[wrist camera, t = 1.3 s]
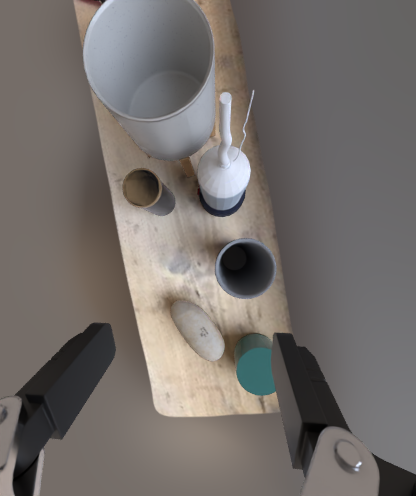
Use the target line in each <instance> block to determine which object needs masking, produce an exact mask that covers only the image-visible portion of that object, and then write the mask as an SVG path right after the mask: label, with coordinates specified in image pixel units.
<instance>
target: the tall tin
mask: <svg viewBox="0 0 416 496" xmlns="http://www.w3.org/2000/svg"><path fill="white" fill-rule="evenodd" d="M123 194H124V196H125V198H126V200H127V201H128V202H129V203H130V204H132V205H133V206H136V207H138V208H142V209H144V210H146V211H149V212H151V213H153V214H156V215H158V216H165V215H168V214H169V213H171V212H172V210H173V209H174V207H175V197H174V195H173V193H172V192H171V191H170V190H169V189H168V188H167V187H166V186H165V185H164V184H163V183H162V182H161V180H160V179H159V178H158V176H157V175H156V174H155V173H154V172H153V171H151V170H149V169H146V168H138V169H135V170H133V171H131V172H130V173H129V174H128V175H127V176H126V177H125V179H124V182H123Z"/></svg>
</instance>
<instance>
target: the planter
mask: <svg viewBox="0 0 416 496" xmlns="http://www.w3.org/2000/svg"><path fill="white" fill-rule="evenodd" d="M83 64H84V70H85V73H86V77H87V80H88V82H89V84H90V86H91V88H92V90H93V91H94V93H95V94H96V96H97V97H98V98H99V100H100V101H101V102H102V103H103V104H104V106H105V107H106V108H107V109H108V110H109V112H110V113H111V114H112V115H113V117H114V118H115V119H116V120H117V121H118V123H119V124H120V125H121V126H122V127H123V129H124V130H125V131H126V132H127V133H128V135H129V136H130V137H131V138H132V139H133V141H134V142H135V143H136V144H137V145H138V146H139V147H140V149H141V150H143V151H144V152H145V153H146V154H147V155H148V157H149V158H150V157H154V158H157V159H161V160H167V161H174V160H179V161H180V163H181V165H182V168H183V170H184V172H185V174H186V176H187V178H188V177H191V176H194V175H195V173H194V170H193V167H192V164H191V161H190V158H189V156H191V155H192V154H194V153H196V152H197V151H198V150H199V149H201V148H202V147H203V145H204V144H205V143H206V142H207V140H208V139H209V137H212V136H215V54H214V39H213V33H212V30H211V27H210V24H209V22H208V19H207V17H206V15H205V14H204V12H203V11H202V9H201V8H200V6H199V5H198V4H197V3H196V2H195V1H194V0H106V1H105V2H104V3H103V4H102V5H101V6H100V7H99V9H98V10H97V11H96V12H95V14H94V16H93V17H92V19H91V21H90V23H89V26H88V28H87V30H86V34H85V38H84V44H83Z"/></svg>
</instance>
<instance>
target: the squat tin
mask: <svg viewBox="0 0 416 496" xmlns="http://www.w3.org/2000/svg"><path fill="white" fill-rule="evenodd" d="M272 343H273V342H272V341H271V340H270V339H269V338H268V337H266V336H264V335H261V334H249V335H246V336H244V337H243V338H241V339H240V340H239V341H238V343H237V344H236V347H235V350H234V359H235V366H236V373H237V378H238V381H239V382H240V384H241V386H242V387H243V388H244V389H245V390H247V391H248V392H250V393H252V394H255V395H261V396H263V395H269V394H272V393H274V392H275V391H276V389H275V384H274V380H273V375H272V369H271V352H272Z"/></svg>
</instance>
